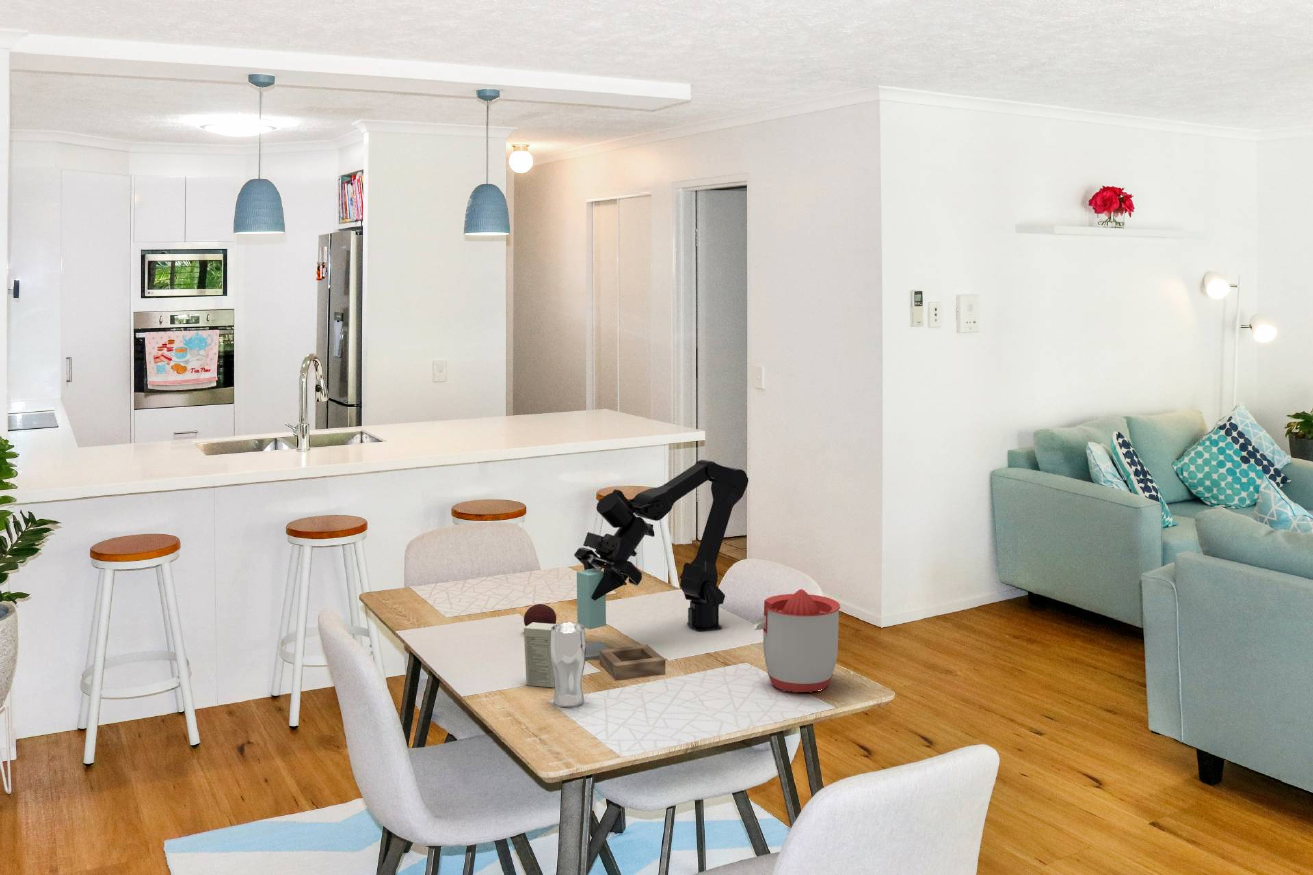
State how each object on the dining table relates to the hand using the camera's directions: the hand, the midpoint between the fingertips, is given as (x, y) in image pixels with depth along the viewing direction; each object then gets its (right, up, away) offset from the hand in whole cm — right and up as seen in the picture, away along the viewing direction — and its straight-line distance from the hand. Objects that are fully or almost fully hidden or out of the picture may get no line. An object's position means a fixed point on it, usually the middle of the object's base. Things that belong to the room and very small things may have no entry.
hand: (586, 596), depth 241 cm
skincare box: (-8, -16, -15) cm, 23 cm away
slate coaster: (0, -13, +5) cm, 14 cm away
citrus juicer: (+44, -16, -16) cm, 49 cm away
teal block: (+1, -6, +2) cm, 7 cm away
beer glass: (-2, -17, -25) cm, 31 cm away
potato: (-12, -11, +19) cm, 25 cm away
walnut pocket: (+10, -14, -6) cm, 19 cm away
